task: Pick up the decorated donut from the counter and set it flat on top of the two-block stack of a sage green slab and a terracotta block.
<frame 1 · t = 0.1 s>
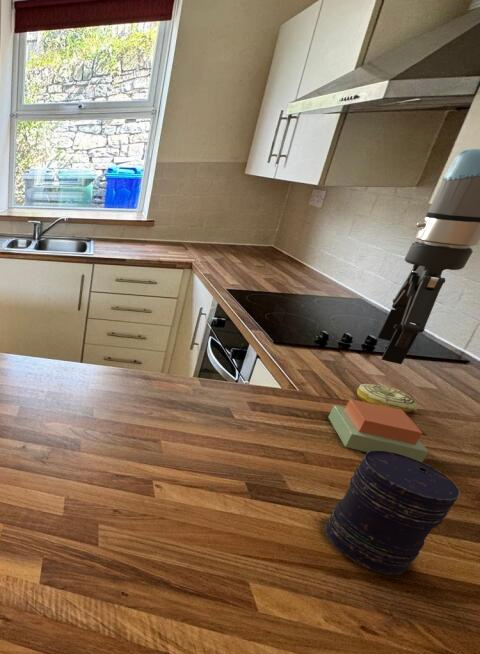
hand: (388, 350, 81), 21 cm above the worktop, tool pointing down, fingers open, 13 cm apart
dark blue cylinder: (363, 546, 63), on the worktop
stack top: (377, 426, 86), point 3 cm above the worktop, touching stack base
stack base: (370, 439, 88), on the worktop, touching stack top
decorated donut: (382, 405, 101), on the worktop
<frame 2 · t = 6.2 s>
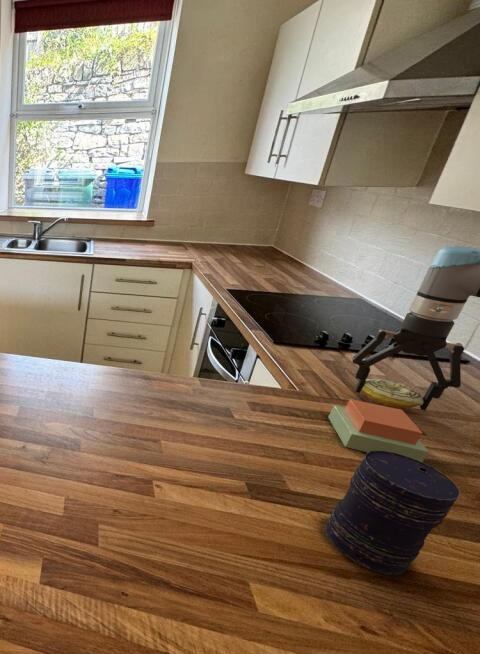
hand: (388, 398, 99), 2 cm above the worktop, tool pointing down, fingers closed on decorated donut, 11 cm apart
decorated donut: (387, 400, 100), point 2 cm above the worktop, touching gripper
everything else where it was.
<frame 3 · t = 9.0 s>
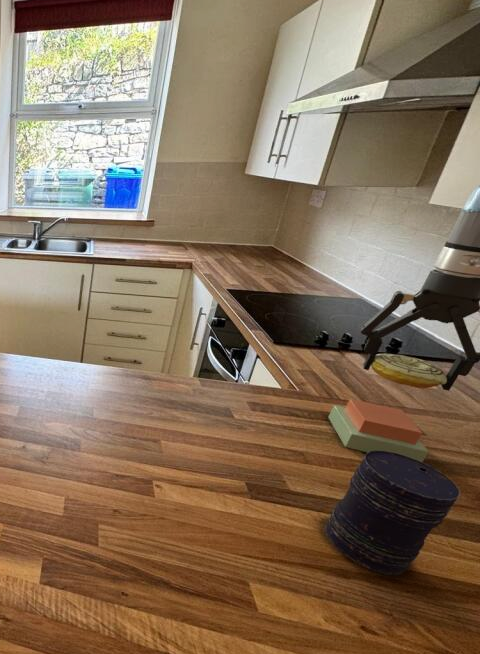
hand: (403, 377, 82), 15 cm above the worktop, tool pointing down, fingers closed on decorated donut, 11 cm apart
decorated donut: (402, 378, 82), point 15 cm above the worktop, touching gripper
everything else where it was.
when the fingers open (7 cm above the worktop, at t = 11.6 s): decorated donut stays where it is, resting on stack top.
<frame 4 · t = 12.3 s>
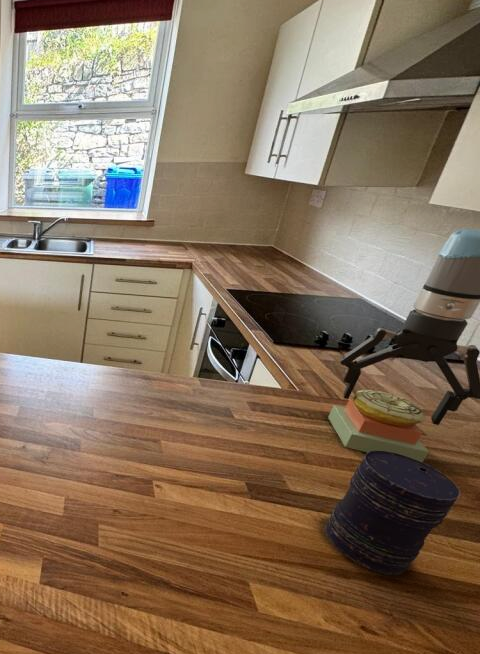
hand: (387, 408, 84), 8 cm above the worktop, tool pointing down, fingers open, 13 cm apart
stack top: (377, 426, 86), point 3 cm above the worktop, touching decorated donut, stack base
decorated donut: (383, 415, 85), point 6 cm above the worktop, touching stack top
everything else where it was.
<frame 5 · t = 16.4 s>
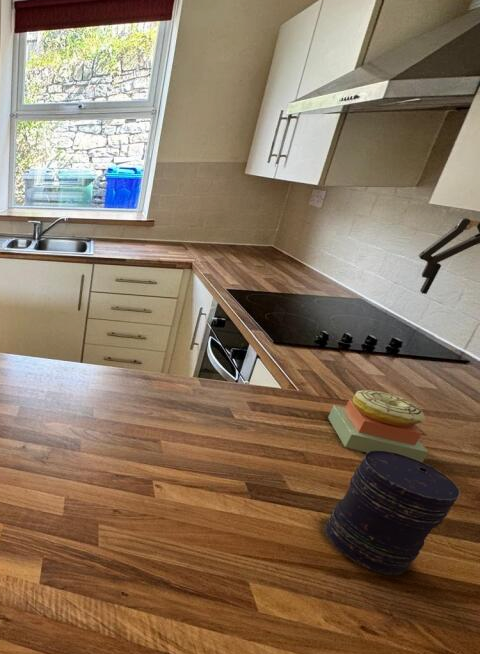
hand: (467, 299, 87), 29 cm above the worktop, tool pointing down, fingers open, 13 cm apart
nothing on the worktop moved.
at the end: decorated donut 0.1 cm off-centre on the stack base, point 6.3 cm above the stack base's base; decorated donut tilted 0°; stack top 0.0 cm off-centre on the stack base, point 3.5 cm above the stack base's base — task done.
